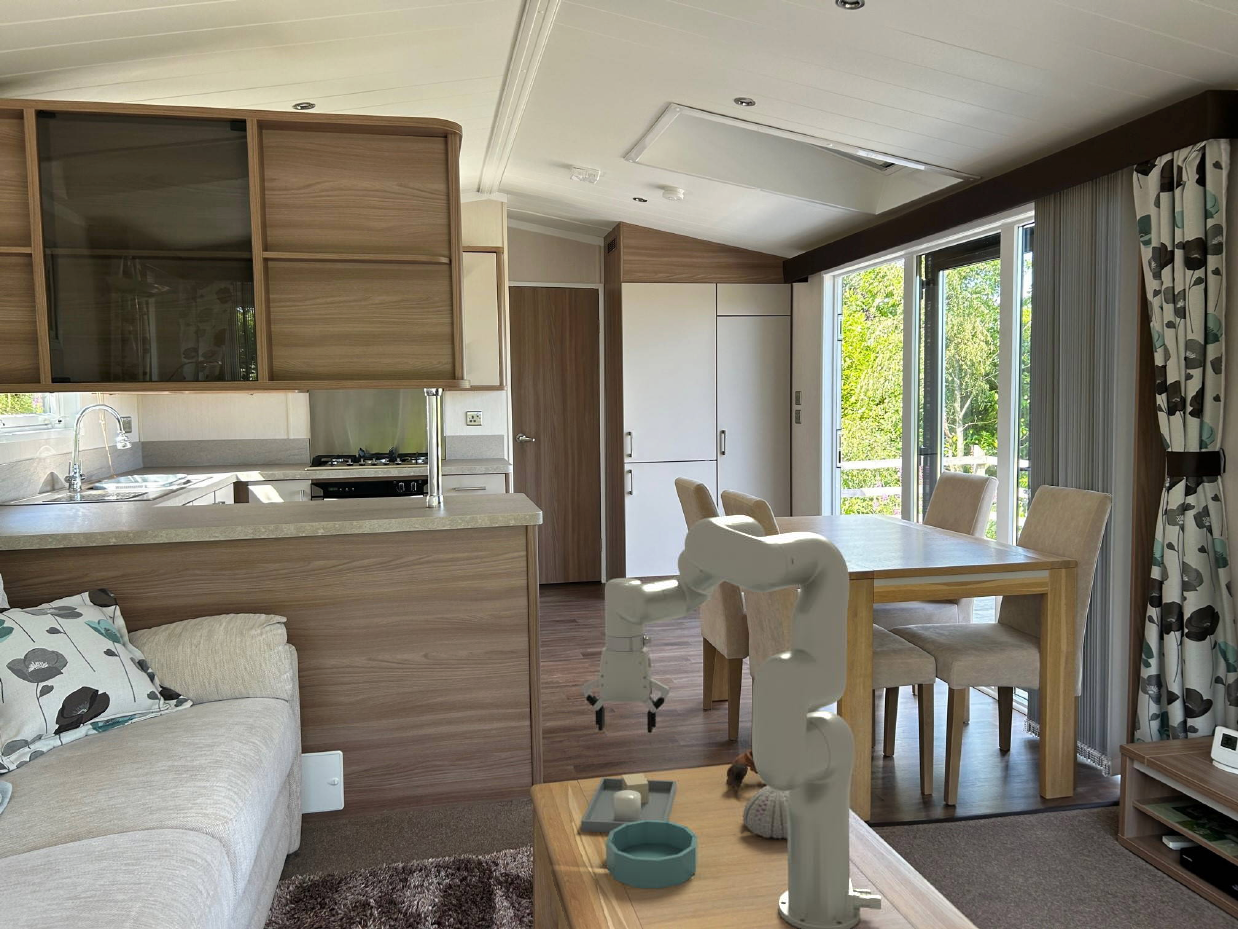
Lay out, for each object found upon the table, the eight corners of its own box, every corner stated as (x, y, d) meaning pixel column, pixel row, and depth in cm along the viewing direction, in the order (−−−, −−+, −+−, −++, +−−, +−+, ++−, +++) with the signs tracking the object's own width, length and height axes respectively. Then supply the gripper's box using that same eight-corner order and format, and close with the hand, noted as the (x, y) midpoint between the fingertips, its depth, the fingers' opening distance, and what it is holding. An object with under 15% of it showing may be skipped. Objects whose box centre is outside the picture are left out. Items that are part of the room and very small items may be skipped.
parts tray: (676, 792, 191) (676, 780, 191) (664, 838, 169) (664, 825, 169) (602, 789, 194) (602, 777, 193) (581, 834, 172) (581, 821, 172)
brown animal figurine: (737, 775, 202) (755, 745, 200) (768, 804, 196) (787, 773, 194) (708, 777, 193) (727, 745, 191) (739, 808, 186) (759, 775, 185)
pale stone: (642, 814, 179) (642, 791, 178) (638, 826, 173) (638, 801, 173) (616, 813, 179) (616, 789, 179) (612, 824, 174) (611, 800, 174)
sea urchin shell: (728, 829, 173) (727, 787, 173) (773, 809, 182) (773, 769, 182) (783, 852, 163) (782, 808, 163) (828, 830, 172) (827, 788, 172)
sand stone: (642, 792, 190) (642, 773, 190) (648, 802, 184) (648, 783, 184) (622, 794, 189) (622, 775, 189) (627, 804, 184) (627, 785, 184)
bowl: (700, 848, 165) (699, 822, 165) (693, 891, 150) (692, 862, 149) (615, 843, 168) (615, 818, 167) (600, 885, 152) (600, 857, 152)
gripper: (671, 639, 178) (672, 725, 178) (585, 637, 180) (586, 721, 181) (667, 648, 170) (667, 738, 171) (577, 646, 173) (578, 734, 174)
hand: (625, 729), depth 176 cm, fingers open, 9 cm apart
